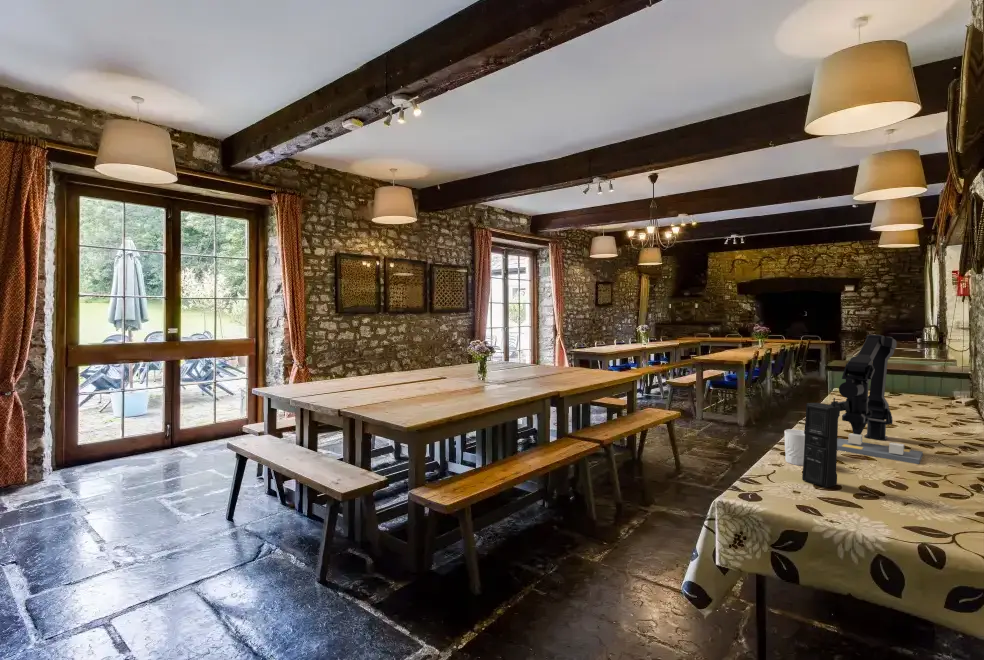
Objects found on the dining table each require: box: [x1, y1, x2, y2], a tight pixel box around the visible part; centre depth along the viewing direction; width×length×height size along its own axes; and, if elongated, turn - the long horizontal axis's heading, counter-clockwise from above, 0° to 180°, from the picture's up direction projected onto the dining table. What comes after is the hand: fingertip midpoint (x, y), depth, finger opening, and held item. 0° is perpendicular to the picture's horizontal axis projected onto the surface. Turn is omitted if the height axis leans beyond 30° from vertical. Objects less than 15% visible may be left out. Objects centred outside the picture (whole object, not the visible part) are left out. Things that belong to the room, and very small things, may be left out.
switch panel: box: [837, 437, 924, 465], centre depth 172 cm, size 13×24×2 cm, turn 45°
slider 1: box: [847, 433, 863, 445], centre depth 177 cm, size 3×4×3 cm
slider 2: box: [888, 441, 905, 455], centre depth 165 cm, size 3×4×3 cm
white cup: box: [784, 428, 805, 467], centre depth 160 cm, size 8×8×10 cm
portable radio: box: [801, 397, 841, 489], centre depth 141 cm, size 8×6×25 cm
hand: (856, 438), depth 179 cm, fingers closed
